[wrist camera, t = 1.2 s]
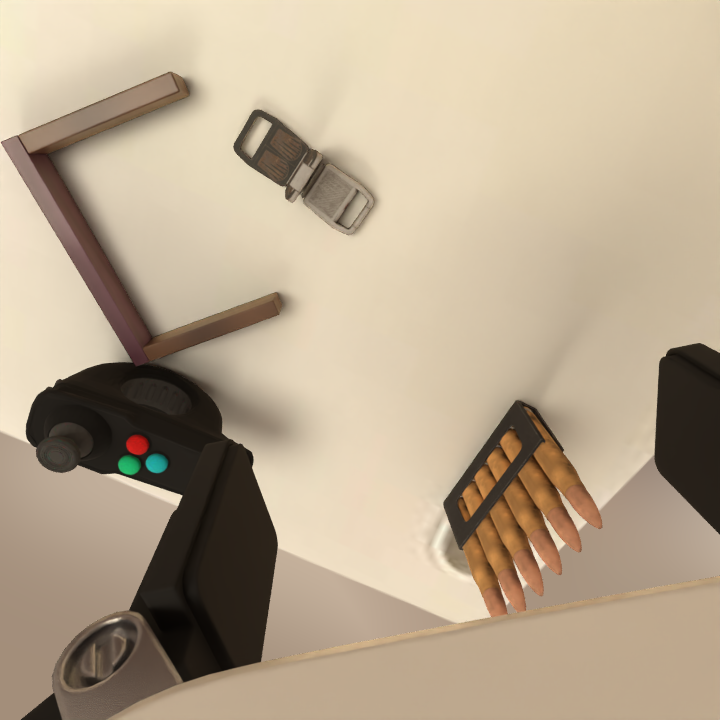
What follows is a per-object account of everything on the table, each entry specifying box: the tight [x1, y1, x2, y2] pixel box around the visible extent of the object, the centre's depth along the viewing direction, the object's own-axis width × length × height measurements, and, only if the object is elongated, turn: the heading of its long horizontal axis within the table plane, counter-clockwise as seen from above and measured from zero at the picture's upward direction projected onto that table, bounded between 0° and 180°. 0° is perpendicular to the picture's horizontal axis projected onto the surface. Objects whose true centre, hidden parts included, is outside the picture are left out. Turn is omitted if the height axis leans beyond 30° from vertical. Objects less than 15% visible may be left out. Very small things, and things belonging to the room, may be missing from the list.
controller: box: [26, 362, 254, 495], centre depth 30 cm, size 4×12×10 cm, turn 63°
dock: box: [1, 72, 282, 366], centre depth 29 cm, size 10×14×2 cm
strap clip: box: [233, 110, 374, 235], centre depth 27 cm, size 8×3×4 cm, turn 54°
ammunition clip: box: [444, 401, 602, 617], centre depth 32 cm, size 11×2×12 cm, turn 153°
